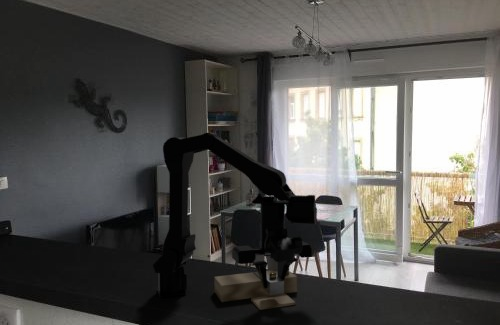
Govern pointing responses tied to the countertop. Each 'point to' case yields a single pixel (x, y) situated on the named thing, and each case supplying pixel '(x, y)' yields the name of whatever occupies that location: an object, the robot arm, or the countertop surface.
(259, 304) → the flat wooden board
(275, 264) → the energy drink
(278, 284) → the grey piece
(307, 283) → the countertop surface
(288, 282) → the plane body
